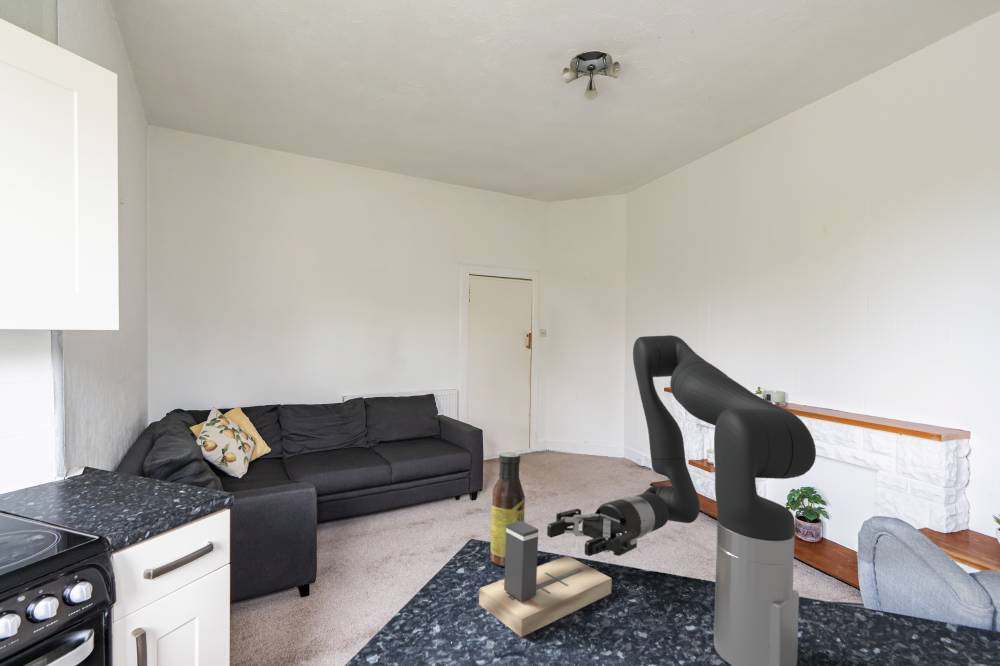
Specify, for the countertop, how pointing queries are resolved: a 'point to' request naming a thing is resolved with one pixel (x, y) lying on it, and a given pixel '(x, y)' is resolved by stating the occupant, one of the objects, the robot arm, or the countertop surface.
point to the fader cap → (521, 560)
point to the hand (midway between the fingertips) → (566, 539)
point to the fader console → (547, 595)
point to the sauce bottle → (505, 504)
